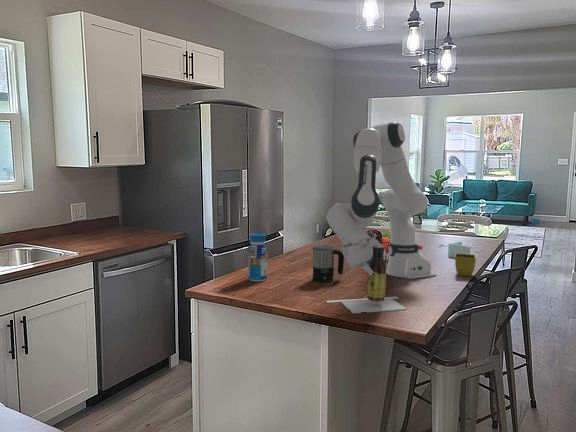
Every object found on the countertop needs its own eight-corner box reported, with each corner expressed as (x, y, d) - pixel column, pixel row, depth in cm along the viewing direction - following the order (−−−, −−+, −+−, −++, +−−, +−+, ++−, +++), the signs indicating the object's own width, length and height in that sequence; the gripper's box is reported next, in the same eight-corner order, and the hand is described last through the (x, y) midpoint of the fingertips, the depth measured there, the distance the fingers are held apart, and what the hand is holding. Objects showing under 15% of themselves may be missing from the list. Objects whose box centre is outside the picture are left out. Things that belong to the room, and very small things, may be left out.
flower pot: (474, 273, 228) (475, 254, 227) (475, 278, 220) (476, 258, 219) (454, 272, 231) (455, 253, 230) (454, 276, 223) (455, 256, 222)
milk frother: (318, 284, 209) (318, 249, 207) (300, 275, 223) (301, 243, 221) (346, 280, 216) (347, 246, 214) (327, 272, 230) (328, 240, 228)
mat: (392, 299, 187) (392, 298, 187) (406, 309, 175) (406, 308, 175) (341, 303, 183) (341, 302, 183) (352, 313, 171) (352, 312, 171)
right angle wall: (468, 261, 258) (469, 246, 257) (448, 257, 267) (448, 243, 266) (480, 257, 266) (481, 244, 265) (459, 254, 275) (460, 241, 274)
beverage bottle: (245, 278, 218) (245, 233, 216) (263, 276, 222) (263, 232, 219) (251, 282, 211) (251, 236, 208) (270, 280, 214) (270, 235, 212)
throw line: (396, 297, 190) (396, 296, 190) (398, 298, 189) (398, 297, 189) (326, 301, 184) (326, 300, 184) (327, 303, 183) (327, 302, 183)
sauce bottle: (365, 297, 182) (366, 244, 180) (382, 297, 183) (383, 244, 180) (369, 302, 176) (371, 247, 173) (387, 302, 176) (389, 247, 174)
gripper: (344, 240, 173) (367, 272, 168) (376, 233, 188) (398, 262, 183) (334, 251, 176) (356, 282, 171) (365, 243, 192) (387, 272, 186)
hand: (378, 272), depth 177 cm, fingers closed on sauce bottle, 6 cm apart
